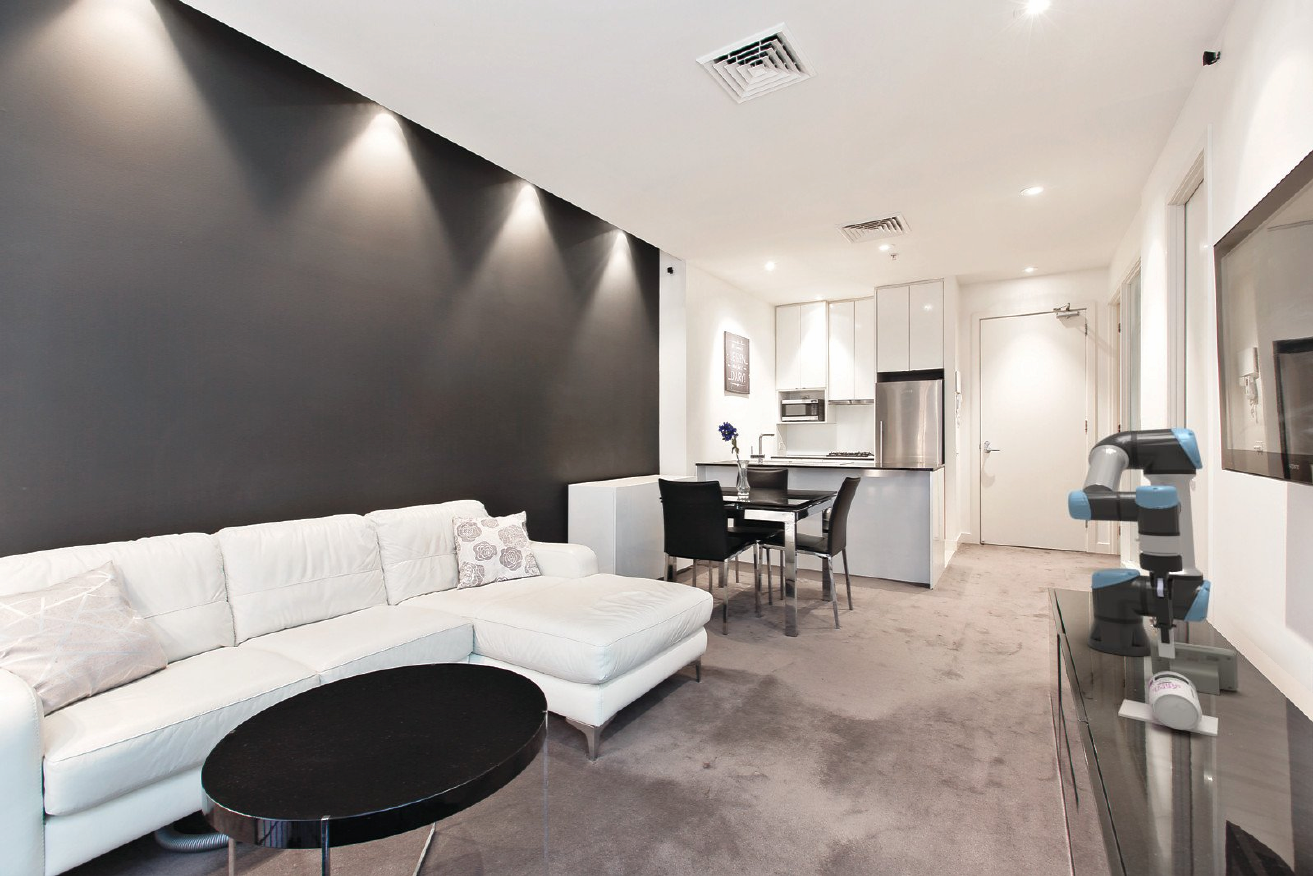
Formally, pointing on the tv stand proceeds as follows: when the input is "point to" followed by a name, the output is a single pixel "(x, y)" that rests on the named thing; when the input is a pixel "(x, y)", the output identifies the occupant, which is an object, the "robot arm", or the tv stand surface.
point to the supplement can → (1174, 700)
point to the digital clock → (1199, 666)
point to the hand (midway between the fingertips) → (1166, 656)
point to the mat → (1145, 714)
